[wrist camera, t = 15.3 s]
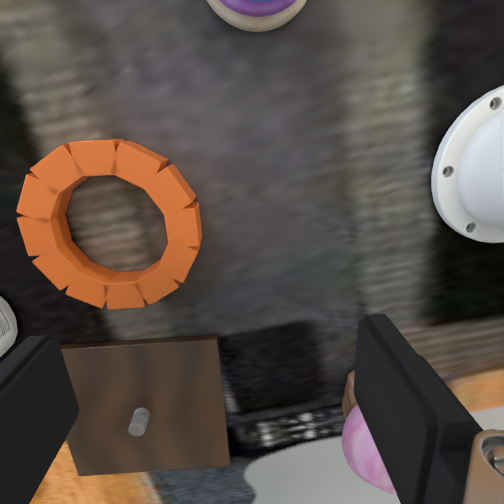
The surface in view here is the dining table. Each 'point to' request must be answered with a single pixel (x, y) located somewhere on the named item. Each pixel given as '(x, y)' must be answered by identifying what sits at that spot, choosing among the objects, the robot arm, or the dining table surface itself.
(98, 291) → the ring
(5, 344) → the supplement can
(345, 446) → the cupcake
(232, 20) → the stacking toy
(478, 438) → the robot arm
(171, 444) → the board
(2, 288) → the dining table surface
